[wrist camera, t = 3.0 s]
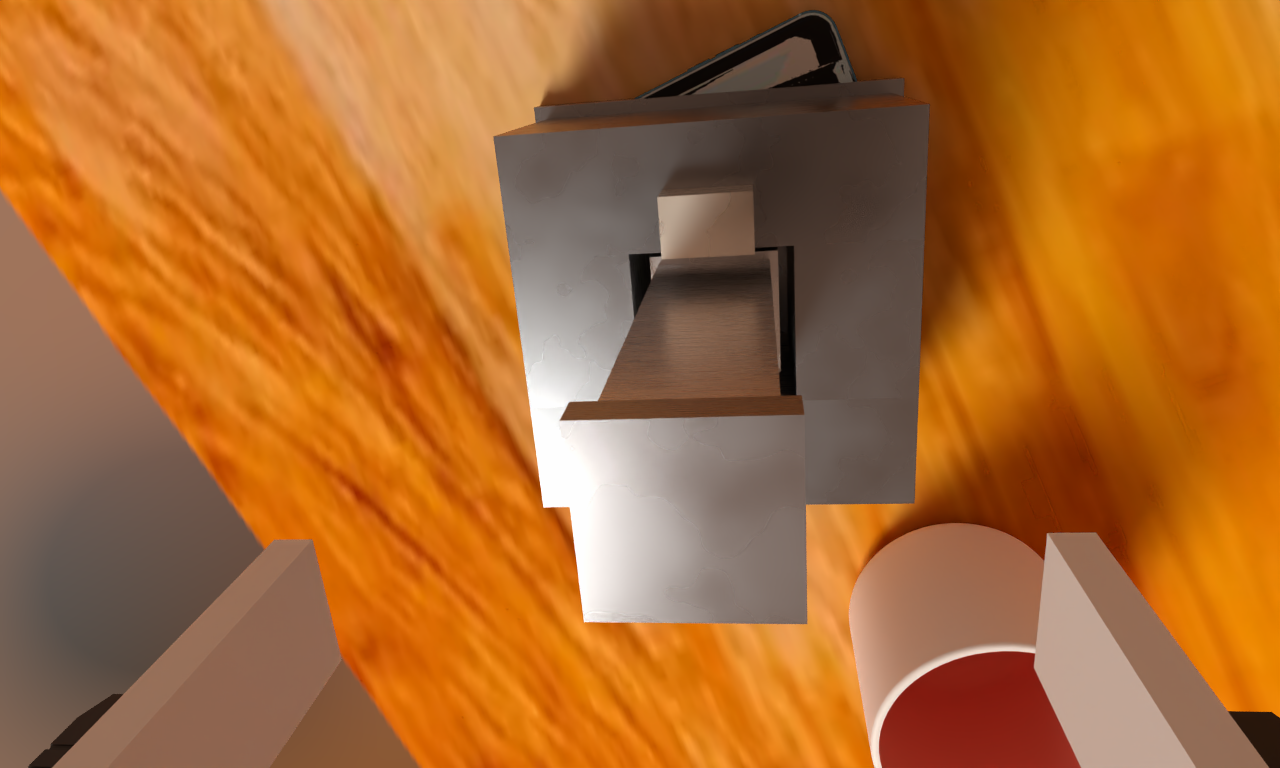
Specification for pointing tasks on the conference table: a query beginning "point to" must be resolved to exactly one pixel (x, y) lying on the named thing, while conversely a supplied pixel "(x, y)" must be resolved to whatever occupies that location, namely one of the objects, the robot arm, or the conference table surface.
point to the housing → (733, 254)
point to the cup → (954, 653)
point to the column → (693, 457)
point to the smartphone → (770, 61)
